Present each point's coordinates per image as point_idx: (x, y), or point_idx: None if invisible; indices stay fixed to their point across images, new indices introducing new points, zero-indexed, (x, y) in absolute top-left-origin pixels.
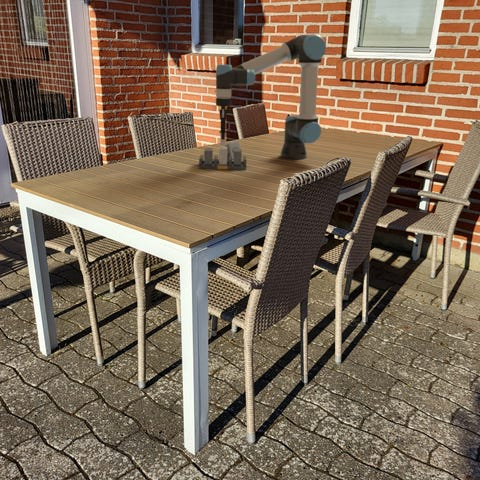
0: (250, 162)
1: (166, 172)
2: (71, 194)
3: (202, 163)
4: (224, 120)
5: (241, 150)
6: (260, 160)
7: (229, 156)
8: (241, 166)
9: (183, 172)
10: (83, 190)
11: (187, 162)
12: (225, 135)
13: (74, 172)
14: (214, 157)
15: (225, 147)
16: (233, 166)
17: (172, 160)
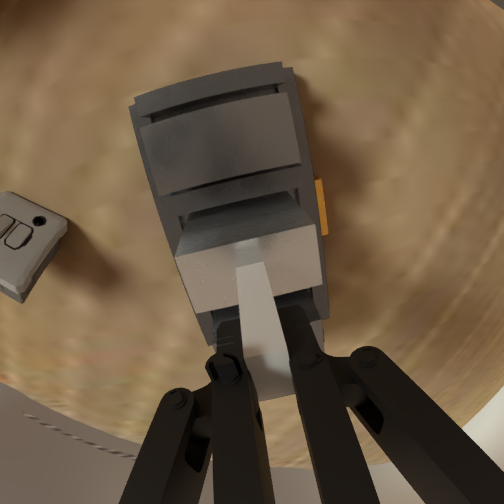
0: (80, 100)
1: None
2: (493, 388)
3: None
4: (491, 472)
5: (234, 102)
6: (26, 75)
7: (198, 206)
8: (293, 96)
9: (385, 334)
10: (482, 392)
11: None
12: (279, 327)
13: (374, 462)
14: None
15: (232, 259)
16: (307, 144)
17: None
